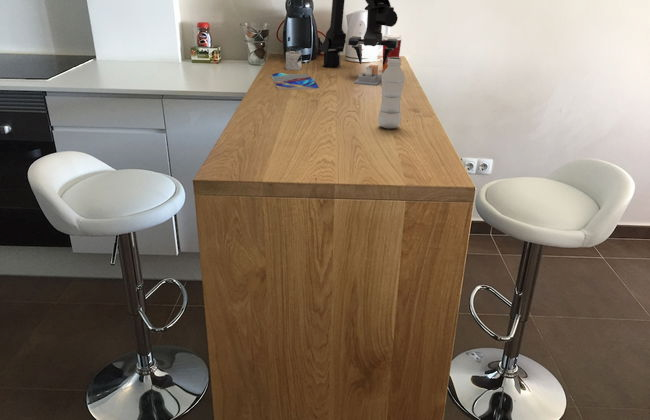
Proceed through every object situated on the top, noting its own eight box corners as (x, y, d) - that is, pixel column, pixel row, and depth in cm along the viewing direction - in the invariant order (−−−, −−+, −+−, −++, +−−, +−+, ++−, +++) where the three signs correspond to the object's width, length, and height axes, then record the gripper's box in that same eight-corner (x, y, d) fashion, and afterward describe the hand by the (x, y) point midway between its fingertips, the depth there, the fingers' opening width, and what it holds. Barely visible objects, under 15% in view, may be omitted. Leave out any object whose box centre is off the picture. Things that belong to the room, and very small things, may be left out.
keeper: (353, 83, 221) (354, 68, 218) (363, 74, 236) (364, 60, 234) (376, 85, 219) (377, 70, 216) (385, 76, 234) (386, 62, 232)
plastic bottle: (375, 124, 170) (380, 55, 162) (398, 124, 171) (403, 56, 163) (379, 131, 165) (384, 60, 156) (402, 131, 165) (408, 60, 157)
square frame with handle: (365, 74, 234) (366, 64, 233) (381, 75, 233) (382, 65, 231) (358, 81, 222) (358, 70, 220) (374, 82, 220) (375, 72, 218)
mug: (301, 70, 241) (301, 54, 238) (285, 70, 241) (285, 53, 238) (302, 66, 250) (302, 50, 247) (286, 65, 250) (286, 49, 247)
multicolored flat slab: (270, 76, 231) (270, 71, 230) (307, 76, 234) (307, 71, 233) (277, 91, 208) (277, 86, 207) (318, 90, 211) (319, 85, 210)
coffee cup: (399, 70, 246) (402, 34, 240) (399, 74, 239) (402, 37, 233) (379, 69, 247) (382, 33, 241) (379, 73, 240) (381, 36, 233)
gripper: (345, 24, 215) (344, 66, 221) (395, 27, 211) (391, 70, 217) (352, 21, 225) (350, 61, 231) (399, 24, 220) (396, 65, 227)
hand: (371, 64), depth 226 cm, fingers open, 9 cm apart
